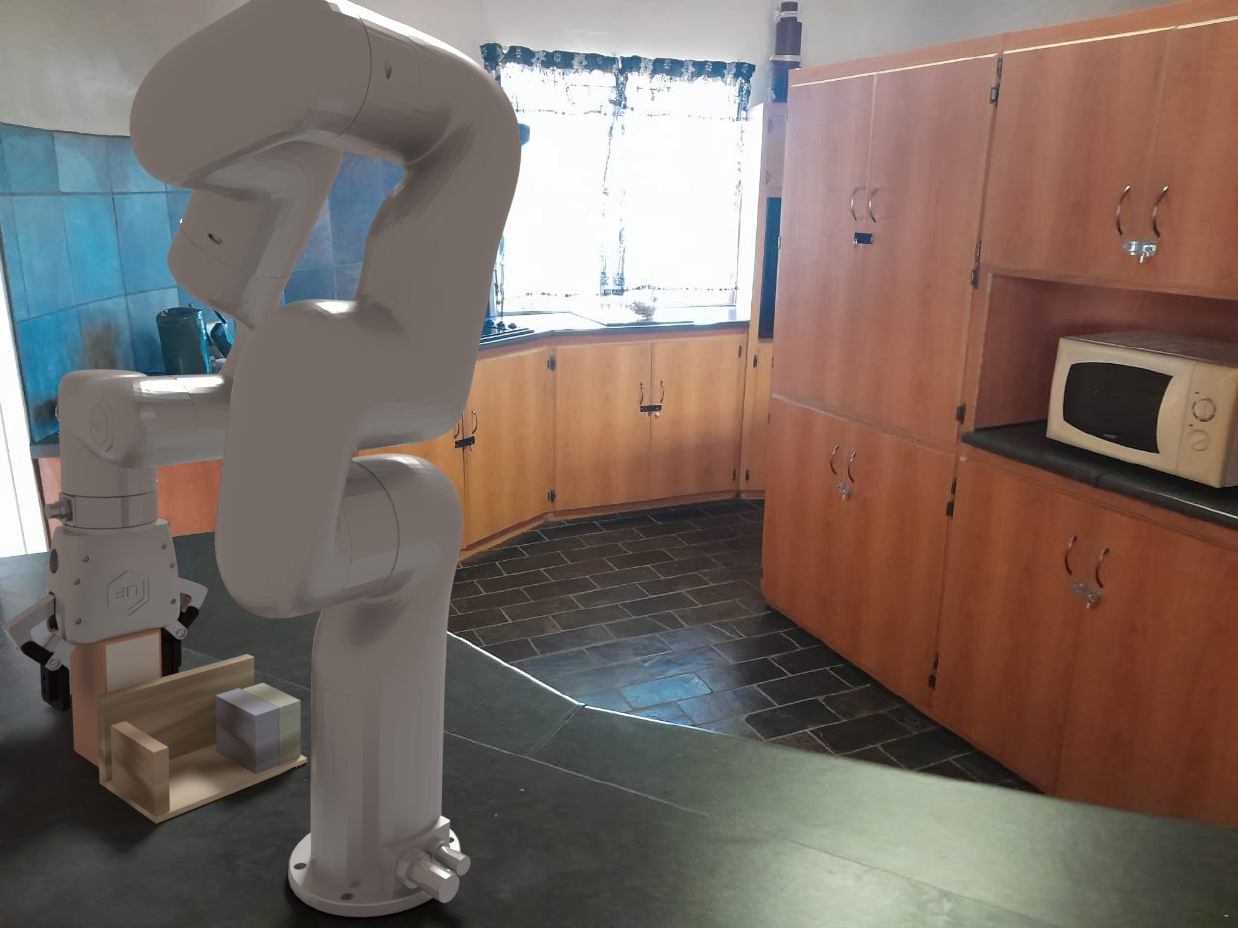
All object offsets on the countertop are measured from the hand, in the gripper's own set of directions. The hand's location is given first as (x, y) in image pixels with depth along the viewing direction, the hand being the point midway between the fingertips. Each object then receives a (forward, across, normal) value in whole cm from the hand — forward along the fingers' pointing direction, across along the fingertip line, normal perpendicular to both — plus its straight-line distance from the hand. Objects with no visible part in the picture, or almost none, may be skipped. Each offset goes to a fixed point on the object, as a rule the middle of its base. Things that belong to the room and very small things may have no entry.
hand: (115, 691), depth 85 cm
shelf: (+6, +4, -10) cm, 12 cm away
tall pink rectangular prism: (+6, 0, 0) cm, 6 cm away
